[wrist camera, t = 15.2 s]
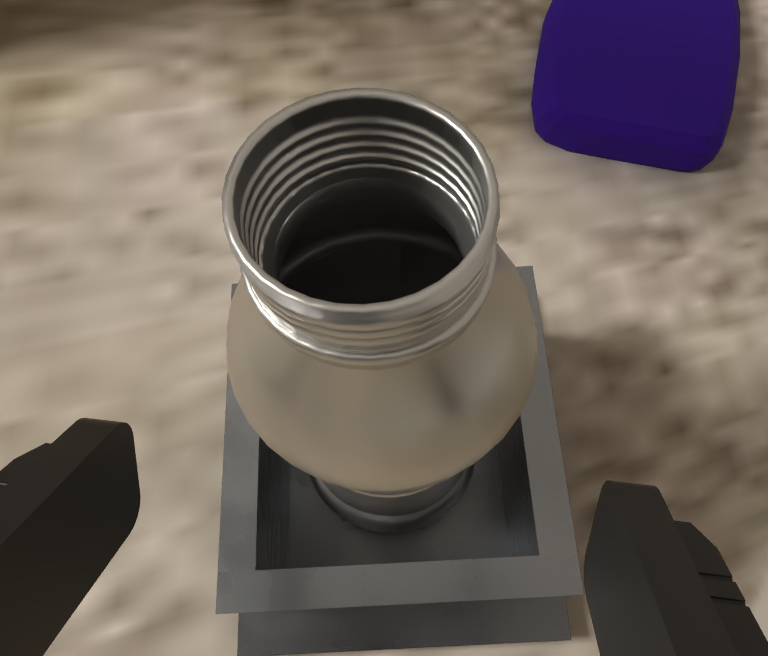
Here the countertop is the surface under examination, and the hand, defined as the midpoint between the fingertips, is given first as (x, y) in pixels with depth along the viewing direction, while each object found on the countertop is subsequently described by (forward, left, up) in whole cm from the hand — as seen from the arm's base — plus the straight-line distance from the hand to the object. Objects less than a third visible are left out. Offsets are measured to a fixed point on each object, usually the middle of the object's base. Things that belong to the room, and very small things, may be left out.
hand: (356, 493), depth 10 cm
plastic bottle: (-3, 0, -16) cm, 17 cm away
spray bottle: (-30, +17, -18) cm, 39 cm away
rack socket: (-4, 0, -17) cm, 18 cm away
